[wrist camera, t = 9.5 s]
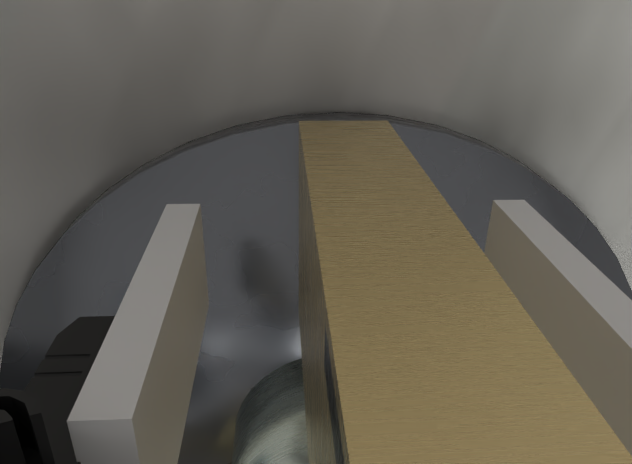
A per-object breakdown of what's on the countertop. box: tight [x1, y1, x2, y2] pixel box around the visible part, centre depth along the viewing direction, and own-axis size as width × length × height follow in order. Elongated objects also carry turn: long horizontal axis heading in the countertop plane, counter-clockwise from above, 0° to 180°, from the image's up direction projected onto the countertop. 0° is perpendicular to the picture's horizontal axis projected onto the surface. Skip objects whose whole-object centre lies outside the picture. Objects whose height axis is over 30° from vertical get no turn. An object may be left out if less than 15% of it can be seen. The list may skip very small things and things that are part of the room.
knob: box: [299, 121, 632, 464], centre depth 10 cm, size 6×2×10 cm, turn 179°
